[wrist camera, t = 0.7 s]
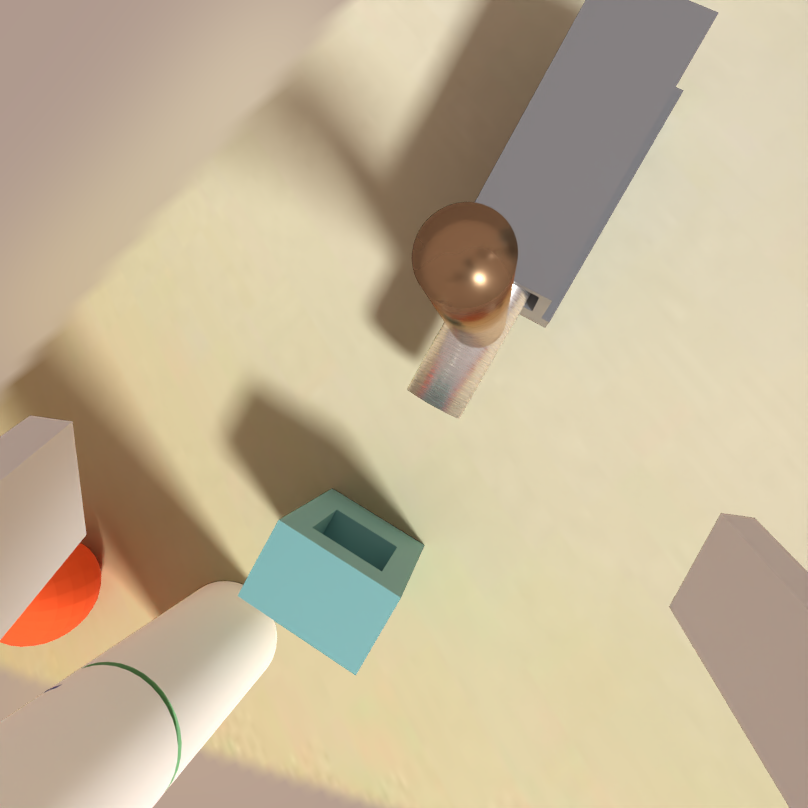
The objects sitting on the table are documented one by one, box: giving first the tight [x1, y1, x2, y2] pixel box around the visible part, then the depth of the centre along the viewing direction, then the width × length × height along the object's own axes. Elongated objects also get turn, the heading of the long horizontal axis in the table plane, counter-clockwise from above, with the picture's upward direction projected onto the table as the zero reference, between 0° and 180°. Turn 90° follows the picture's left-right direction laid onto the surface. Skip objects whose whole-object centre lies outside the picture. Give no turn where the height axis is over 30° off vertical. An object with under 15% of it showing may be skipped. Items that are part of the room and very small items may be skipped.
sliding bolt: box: [407, 202, 531, 418], centre depth 21 cm, size 3×18×15 cm, turn 151°
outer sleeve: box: [475, 0, 718, 327], centre depth 27 cm, size 6×14×8 cm, turn 151°
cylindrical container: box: [0, 581, 277, 808], centre depth 23 cm, size 7×7×25 cm
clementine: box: [0, 543, 101, 647], centre depth 33 cm, size 8×7×7 cm
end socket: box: [238, 489, 424, 675], centre depth 29 cm, size 7×4×8 cm, turn 61°
